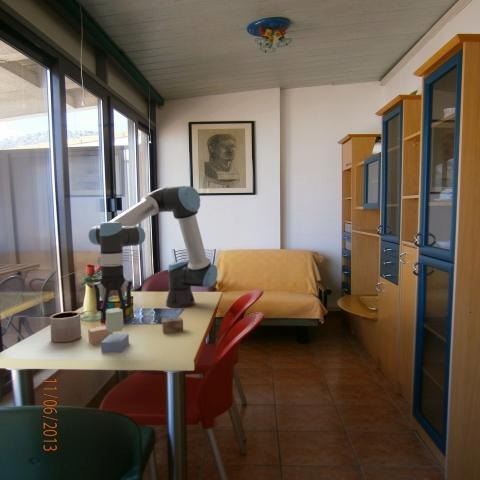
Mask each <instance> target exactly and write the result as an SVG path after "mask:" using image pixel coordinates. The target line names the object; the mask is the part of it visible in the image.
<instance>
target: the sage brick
mask: <svg viewBox="0 0 480 480" xmlns="http://www.w3.org/2000/svg"><path fill="white" fill-rule="evenodd" d="M107 311H108V326H109V330H108V331H109V332H113V333H114V332H122V331H123V328H122V314H121V310H120V308H113V309H107Z"/></svg>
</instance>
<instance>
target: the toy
mask: <svg viewBox="0 0 480 480" xmlns="http://www.w3.org/2000/svg"><path fill="white" fill-rule="evenodd" d="M123 299H124V303H125V305H126V295H125V296H123ZM103 300H104V299H103ZM103 300H102V299H100V307H101V308H102V305H103ZM113 308H120V309H122V307H121V304H120V300H119V297H118V296H117V295H113V296H110V297H109V298H108V303H107V308H106V311H107V309H113ZM134 317H135V312H134V295H131V307H130V308H127V309H126V318H124V319H123V324H124V323H126V322H127V321H129V320H130V319H132V318H134ZM100 323H102V324H103V323H104V324H106V323H105V321H103V320H102V312H100Z"/></svg>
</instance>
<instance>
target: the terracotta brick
mask: <svg viewBox="0 0 480 480" xmlns="http://www.w3.org/2000/svg"><path fill="white" fill-rule="evenodd" d="M87 330H88V331H87V333H88V342H89V343H90V345H95V344H101V342H102V341H103V340H104V339H105V338H106V337H108V336H109V335H110V334H114V332H109V331H108V330H106V325H103V326H96V327H92V328H88V329H87Z"/></svg>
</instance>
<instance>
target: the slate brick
mask: <svg viewBox="0 0 480 480" xmlns="http://www.w3.org/2000/svg"><path fill="white" fill-rule="evenodd" d="M129 344H130V339H129V333H113V334H110V335H109V336H108V337H106V338H105V339H104V340H103V341H102V342H101V343H100V347H101V348H100V351H101V353H102V354H105V353H106V354H108V353H113V354H114V353H116V354H117V353H122V352H123V351H124V350H125V349H126V348H127V346H128V345H129ZM101 353H100V354H101Z"/></svg>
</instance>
